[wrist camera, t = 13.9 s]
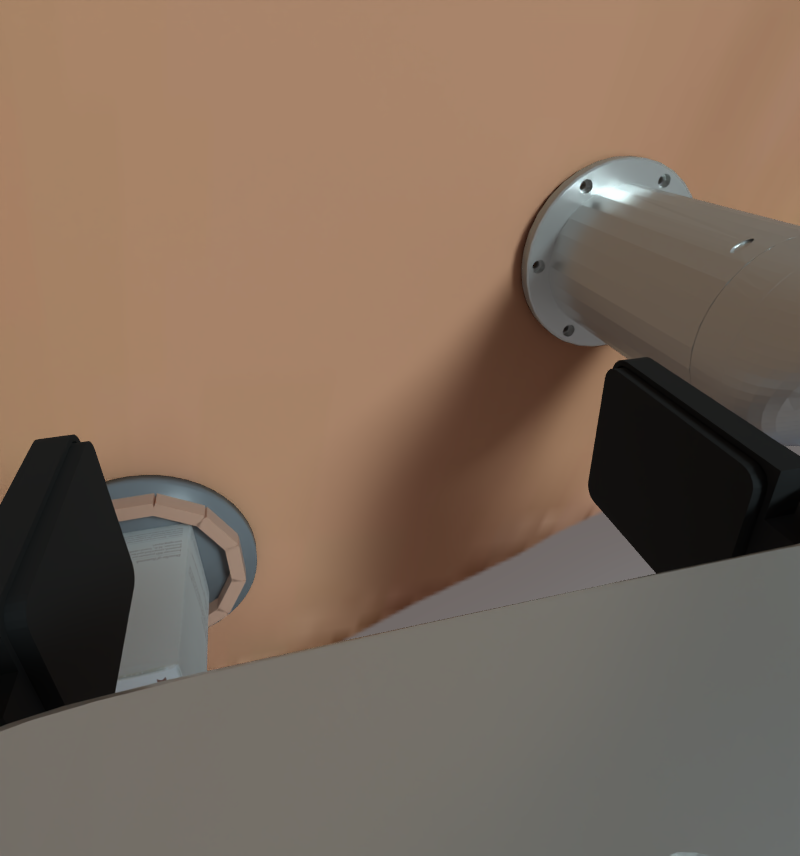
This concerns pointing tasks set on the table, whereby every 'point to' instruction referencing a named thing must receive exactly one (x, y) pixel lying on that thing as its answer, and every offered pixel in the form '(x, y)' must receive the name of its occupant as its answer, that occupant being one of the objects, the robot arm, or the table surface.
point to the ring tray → (194, 530)
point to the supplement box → (165, 608)
